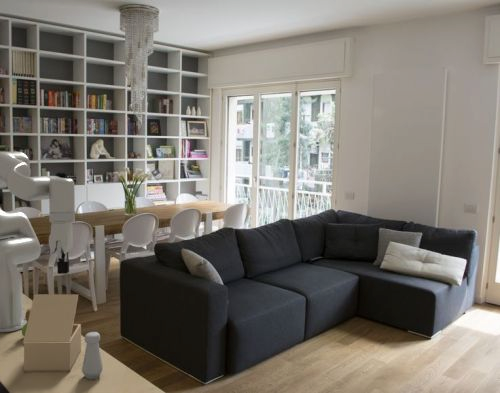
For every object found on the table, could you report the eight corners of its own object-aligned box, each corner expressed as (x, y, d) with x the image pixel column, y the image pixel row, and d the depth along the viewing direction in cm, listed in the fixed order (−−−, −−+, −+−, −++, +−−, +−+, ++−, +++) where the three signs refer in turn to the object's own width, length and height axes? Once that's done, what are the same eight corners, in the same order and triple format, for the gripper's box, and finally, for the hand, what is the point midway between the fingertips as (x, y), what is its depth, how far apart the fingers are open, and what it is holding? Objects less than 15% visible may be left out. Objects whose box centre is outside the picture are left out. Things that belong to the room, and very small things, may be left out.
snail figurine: (42, 333, 170) (42, 300, 168) (35, 341, 164) (34, 307, 162) (27, 333, 170) (26, 299, 168) (18, 340, 164) (18, 306, 162)
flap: (35, 295, 151) (34, 294, 150) (78, 295, 152) (78, 294, 152) (23, 342, 142) (23, 341, 141) (70, 342, 143) (69, 341, 143)
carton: (39, 351, 157) (38, 324, 156) (81, 350, 158) (81, 324, 157) (24, 372, 143) (23, 343, 142) (70, 371, 144) (70, 342, 143)
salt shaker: (96, 382, 139) (96, 339, 137) (78, 379, 140) (77, 336, 138) (106, 372, 144) (106, 331, 143) (88, 370, 146) (88, 328, 144)
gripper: (56, 213, 162) (57, 267, 164) (42, 220, 147) (44, 279, 150) (79, 213, 163) (80, 266, 165) (68, 221, 148) (69, 279, 150)
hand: (63, 272), depth 157 cm, fingers closed
